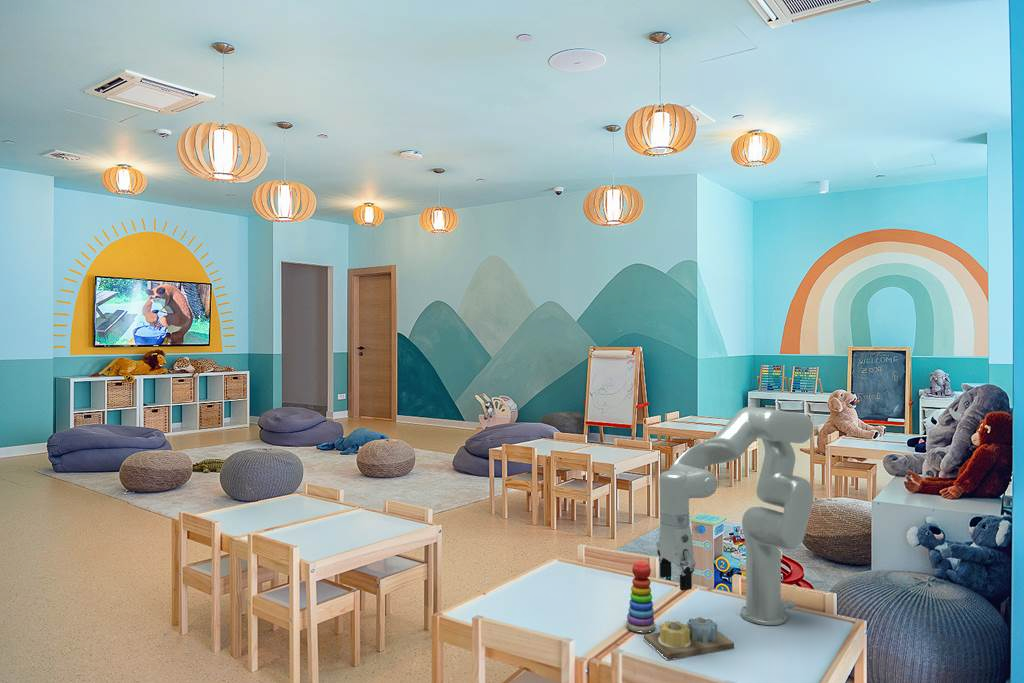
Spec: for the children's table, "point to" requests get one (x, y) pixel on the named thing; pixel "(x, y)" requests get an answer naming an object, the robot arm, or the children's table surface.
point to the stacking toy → (641, 600)
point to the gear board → (690, 648)
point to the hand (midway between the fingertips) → (675, 583)
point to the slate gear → (702, 630)
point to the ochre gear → (675, 634)
